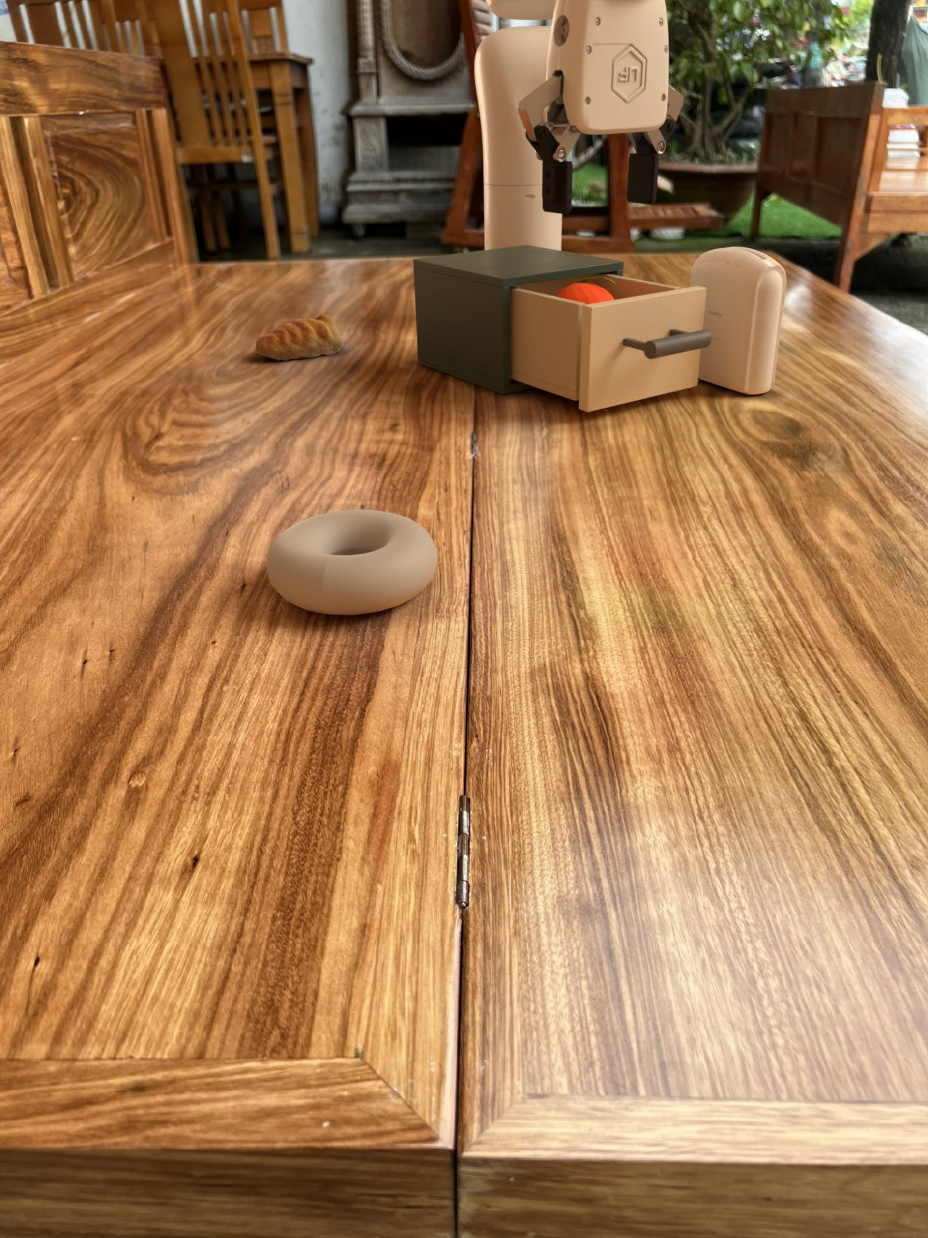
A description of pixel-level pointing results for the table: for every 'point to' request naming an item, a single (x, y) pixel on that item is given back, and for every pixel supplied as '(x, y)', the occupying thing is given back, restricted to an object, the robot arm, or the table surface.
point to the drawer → (607, 340)
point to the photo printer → (740, 317)
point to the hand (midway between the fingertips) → (599, 207)
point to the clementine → (586, 292)
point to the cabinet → (484, 306)
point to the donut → (352, 562)
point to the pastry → (300, 339)
